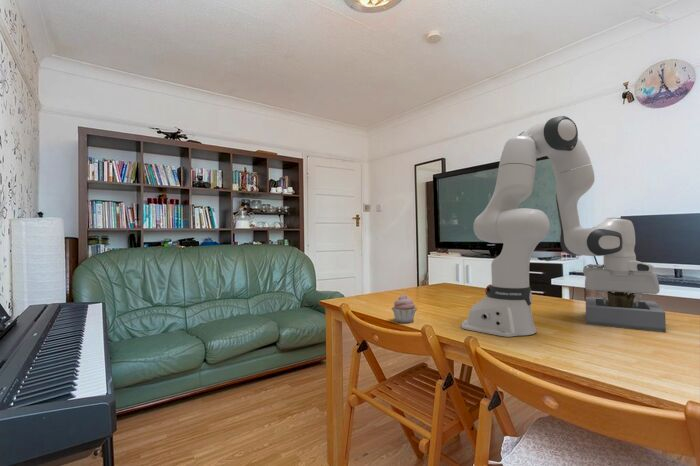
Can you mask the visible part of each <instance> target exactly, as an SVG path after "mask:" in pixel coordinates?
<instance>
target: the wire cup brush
mask: <svg viewBox="0 0 700 466" xmlns="http://www.w3.org/2000/svg"><path fill="white" fill-rule="evenodd" d="M606 293H607V298H608V301H609V304H608V305H609V307H622V308H632V305H633V301H634V300H635V298H636V297H635V296H636V294H634V293H626V292H609V291H606Z"/></svg>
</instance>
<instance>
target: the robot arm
mask: <svg viewBox="0 0 700 466" xmlns="http://www.w3.org/2000/svg"><path fill="white" fill-rule="evenodd" d="M543 157H547V159H549V160H550V161H551V166H552V167H551V168H552V171H553V174H554V178H555V179H554V180H555V182H556V194H555V201H556V202H555V203H556V208H557V215H558V220H559V227H560V235H559V236H560V238H559V239H560V240H559V243H560V247H561V249H562V251H563V252H564V253H565V254H567V255H569V256H573V257H578V256H579V257H581V256H585V257H586V256H587V257H588V256H589V257H603V264H602V263H601V264H592V263H590V264H587V265H585V266H584V267H583V270H582V271H583V272H582V273H583V275H584V278H585V279H584V289H586V290H587V291H593V292H594V291H596V292H599V295H600V297H601V298H603V299H604V304H609V301H608V299H606V298H607V297H605V293H606V292H608V291H609V292H612V293H615V292H624V293H627V294H630V293H631V294H635V296H636V297H635V299H634V301H633V305H632V306H636V307H638V302H639V300H641V299H642V298H643V295H644V294H646V295H658V294H659V293H660V284H659V283H660V282H659V279H658V277H657V275H656V273H655V272H654V269H655V267H654V265H652V264H650V263H647V262H643V261H641V260H637V255H636V253H635V245H636V231H635V226H634V224H633V221H631V220H629V219H627V218H624V217H623V218H621V217H607V218H605V219H604V221H603V222H600V224H597V225H595V226H593V227H587V228H583V226H582V225H581V224H580V218H579V217H580V216H579V213H578V211H579V210H578V202H579V200H580V199H581V197H582V196H583V195H585V194H586V193H587V192H588V191H589V190H590V189H591V188H592V186H593V185H594V183H595V171H594V168H593V164H592V161H591V158H590V156H589V153H588V151H587V149H586V146H585V145H584V144H583V142H582V140H580V139H579V131H578V127H577V124H576V123H575V121H574V120H572V119H571V118H570V117H568V116H566V115H561V116H555V117H552V118H550V119H548V120H546V121H543V122H540V123H538V124H535V125H533V126H531V127H529V128H528V129H526V130H525V131H522V132H521V133H520V134H518V135H515V136H512V137H510V138H509V139H508V140H507V141H506V142H505V144H504V146H503V150H502V152H501V156H500V159H499V164H498V170H497V174H496V175H497V176H496V182H495V187H494V190H493V194H492V196H491V198H490V200H489V202H488V203H487V206H486V207H485V208H484V210H483V211H482V212H481V213H480V214H478V216H476V218H475V220H474V221H473V225H472V226H473V227H472V228H473V233H474V236H475V237H476V238H477V239H478V240H481V241H483V242H487V243H489V244H490V243H491V244H503V245H502V249H501V252H500V254H498V255H497V256H496V257H494V259H492V262H491V264H490V266H491V267H490V269H491V270H490V271H491V284H488V285H487V286H486V287H485V289H484V290H485V291H484V292H485V297H483V298H481V299H480V300H479V301H477V302H476V303H475V304H474V305H472V306H471V307H470V310H469V312H468V317H467V319H464V320H462V322H461V325H460V326H461V328H462V329H463V330H466V331H473V332H478V333H484V334H488V335H494V336H500V337H506V338H511V337H512V338H513V337H517V336H530V335H534V334H535V333H537V329H536V326H535V322H534V319H533V313H532V306H531V305H532V302H533V299H532V296H533V295H532V287H531V286H530V264H531V258H532V255H533V252H534V251H535V249H536V248H537V246H538V245H539V243H541V242H542V241H543V240H544V239H545V238H546V237H547V236H548V234H549V232H550V228H551V227H550V226H551V225H550V220H549V218H548V215H547V214H546V213H545V212H544V211H543V210H541V209H537V208H536V209H535V208H528V207H522V208H520V205H521V204H522V203H523V202H524V201H525V200H526V199H528V198H529V197H530V196H531V194H532V192H533V189H534V182H535V174H536V166H537V159H540V158H543Z"/></svg>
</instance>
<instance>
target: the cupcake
mask: <svg viewBox="0 0 700 466" xmlns="http://www.w3.org/2000/svg"><path fill="white" fill-rule="evenodd" d="M393 304H394V306H393V307H391V311H392V312H393V315H394V316H393V317H394V319H395V320H394V321H396V322H397V323H399V324H400V323H401V324H409V323H413V322H414V318H415V314H416V312H417V310H418V308H417V307H416V305H415V302H413V299H411V298H410V297H409V296H407V295H406V293H404V294H402V295H400V296H399V297H398V298H397V300H395V301H394V303H393Z"/></svg>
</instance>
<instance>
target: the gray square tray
mask: <svg viewBox="0 0 700 466" xmlns="http://www.w3.org/2000/svg"><path fill="white" fill-rule="evenodd" d="M605 298H606V299H608V297H605ZM585 322H586V325H589V326H590V325H591V326H598V327H599V326H602V327H611V328H622V329H630V330H641V331H649V332H660V333H667V330H666V329H667V328H666V326H667V323H666V311H664V310H663V309H662V308H661V306H660V305H659V304H658V303H657V302H656V301H655V300H641V299H640V300H639V302H638V307H636V306H632V308H622V307H609V305H608V304H604V299H603V298H602V297H596V296H595V297H593V296H585Z"/></svg>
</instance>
